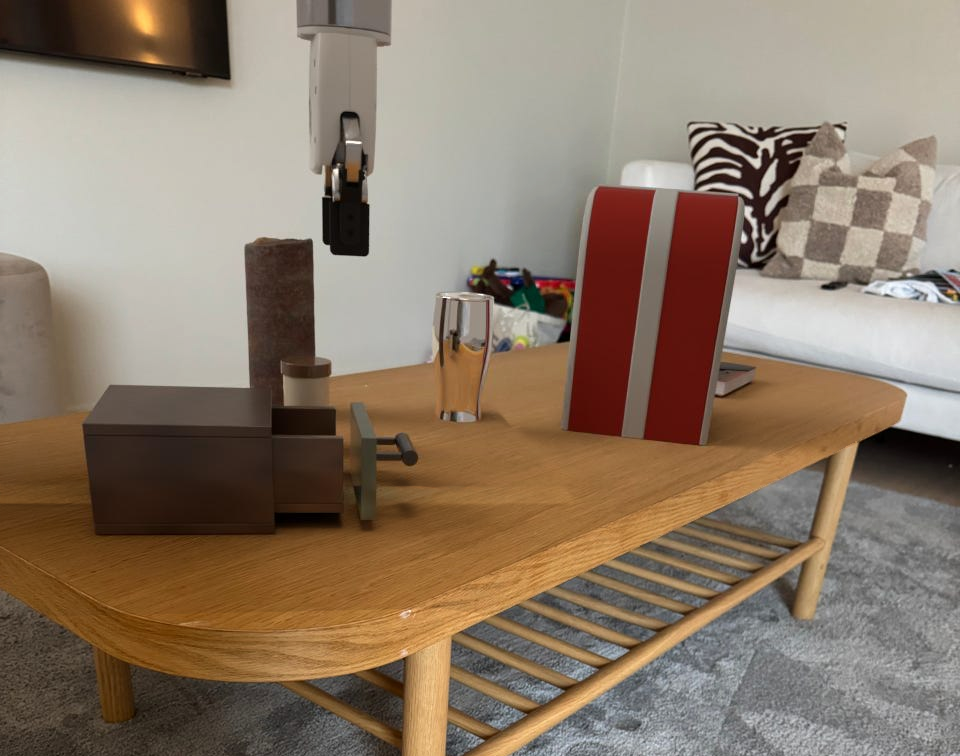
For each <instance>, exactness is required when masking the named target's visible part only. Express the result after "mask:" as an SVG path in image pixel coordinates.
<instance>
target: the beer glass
mask: <svg viewBox="0 0 960 756" xmlns="http://www.w3.org/2000/svg"><path fill="white" fill-rule="evenodd" d="M434 295H435V296H434V297H435V298H434V306H433V312H432V313H433V314H432V321H431V322H432V323H431V355H432V356H431V357H432V363H433V364H432V365H433V372H434V380H435V390H436V395H435V396H436V400H435V408H434V413H433V416H434V417H435V418H436V419H439V420H442V421H447V422H454V423H472V422H479V421H481V420H483V419H482V418H483V415H482V401H483V394H484V393H483V392H484V388H485V384H486V379H487V376H488V371H489V367H490V364H491V357H492V352H493V345H494V335H495V333H494V332H495V297H494V296H493V295H489V294H485V293H479V292H470V291H439V292H436V293H435V294H434Z"/></svg>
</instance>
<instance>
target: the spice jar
mask: <svg viewBox="0 0 960 756" xmlns="http://www.w3.org/2000/svg"><path fill="white" fill-rule="evenodd" d="M332 362H333V361H332V360H330V359H328V358H326V357H321V356H315V357H313V356H290V357H285V358H282V359H281V373H282V374H283V391H284V406H324V407H331V404H330V403H331V400H330V394H331V392H330V390H331V389H330V388H331V387H330V386H331V385H330V383H331V382H330V381H331V380H330V379H331V378H330V376H331V375H332V374H333V373H332V369H333V367H332V366H333V365H332V364H333V363H332Z"/></svg>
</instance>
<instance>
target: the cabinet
mask: <svg viewBox="0 0 960 756" xmlns="http://www.w3.org/2000/svg"><path fill="white" fill-rule="evenodd" d="M81 426H82V427H81V428H82V434H83V437H82V438H83V444H84V445H83V446H84V452H85V461H86V468H87V477H88V487H89V495H90V503H91V510H92V511H91V512H92V519H93V526H94V527H93V528H94V535H100V536H102V535H108V536H111V535H245V534H246V535H247V534H248V535H249V534H250V535H253V534H254V535H255V534H257V535H258V534H259V535H260V534H261V535H264V534H265V535H266V534H267V535H269V534H270V535H271V534H272V535H273V534H275V533H276V515H275V514H276V513H274V487H273V456H272V389H271V388H250V387H227V386H226V387H225V386H187V385H186V386H185V385H142V384H141V385H139V384H138V385H137V384H133V385H132V384H109V385H108V386H107V388H106V389H105V390H104V392H103V393H102V395H101V396H100V398H99V399H98V401H97V402H96V403H95V405H94V406H93V407H92V409H91V410H90V412H89V414H87V416H86V417H85V418H84V420H83V421H82V423H81Z"/></svg>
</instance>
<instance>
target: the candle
mask: <svg viewBox="0 0 960 756" xmlns="http://www.w3.org/2000/svg"><path fill="white" fill-rule="evenodd" d="M243 248H244V250H243V251H244V252H243V253H244V254H243V255H244V273H245V275H244V276H245V298H246V301H245V302H246V323H247V325H246V326H247V347H248V349H247V351H248V377H249V378H248V381H249V388H271V389H272V405H274V406H284V391H283V374H282V373H281V359H282V358H285V357H290V356H313V357H316V328H315V327H316V320H315V319H316V317H315V277H314V276H315V263H314V240H313V239H312V238H304V239H301V238H299V239H297V238H282V239H281V238H277V237H265V236H261V237H257V238H256V239H255V240H254V241H252V242H249V243H245V245H244V247H243Z"/></svg>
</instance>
